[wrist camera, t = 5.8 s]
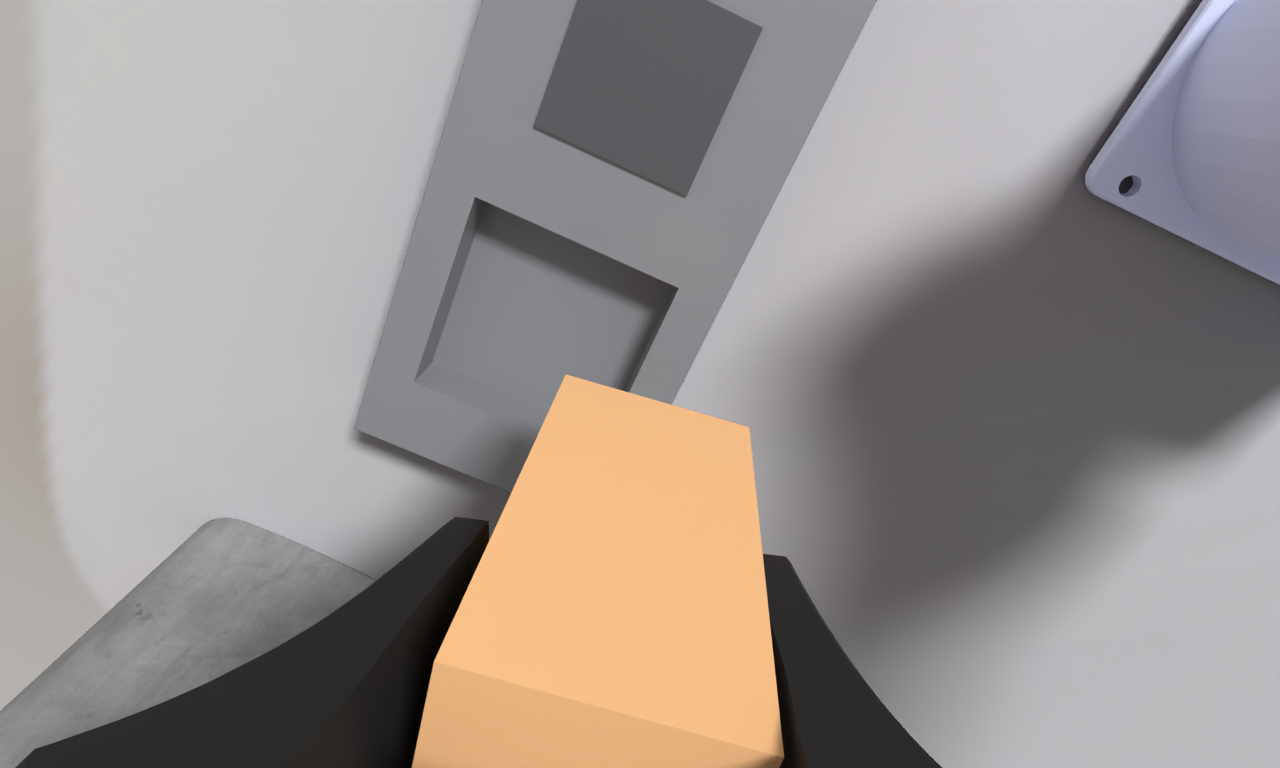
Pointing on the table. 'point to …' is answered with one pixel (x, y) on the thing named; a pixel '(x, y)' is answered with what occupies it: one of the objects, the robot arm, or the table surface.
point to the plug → (615, 603)
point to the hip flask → (180, 631)
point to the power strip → (591, 208)
